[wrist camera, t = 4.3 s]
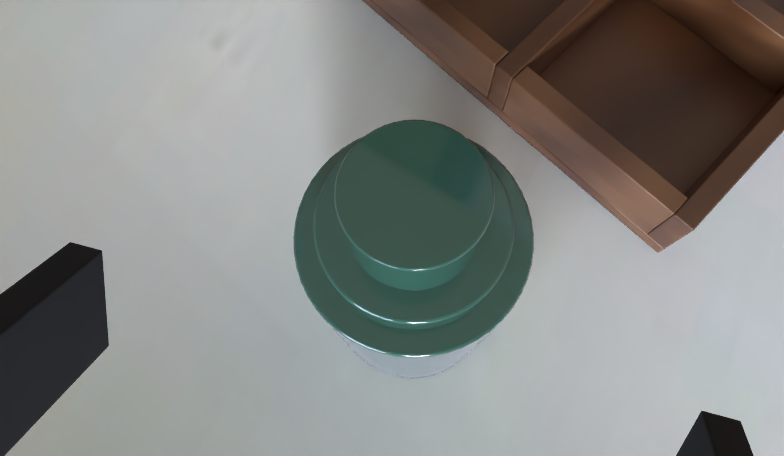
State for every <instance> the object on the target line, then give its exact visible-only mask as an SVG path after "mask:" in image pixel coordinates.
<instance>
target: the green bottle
mask: <svg viewBox="0 0 784 456" xmlns="http://www.w3.org/2000/svg"><path fill="white" fill-rule="evenodd" d="M533 251H534V234H533V227H532V219H531V216H530V212H529V209H528V205H527V203H526V200H525V198H524V196H523V193H522V191H521V189H520V188H519V186H518V184H517V183H516V181H515V179H514V178H513V176H512V175H511V174H510V173H509V171H508V170H507V169H506V167H505V166H504V165H503V164H502V163H501V162H500V161H499V160H498V159H497V158H496V157H495V156H493V155H492V154H491V153H490V152H488V151H487V150H486V149H484V148H483V147H482V146H480V145H478V144H477V143H475V142H473V141H471V140H470V139H468V138H466V137H464V136H463V135H462V134H460V133H459V132H457V131H455V130H453V129H452V128H449V127H447V126H445V125H442V124H439V123H435V122H431V121H425V120H403V121H398V122H393V123H390V124H387V125H384V126H382V127H380V128H377V129H375V130H374V131H372V132H370V133H369V134H367V135H366V136H364V137H362V138H359V139H357V140H355V141H354V142H352V143H350V144H349V145H347V146H346V147H344V148H342V149H341V150H340V151H339V152H337V153H336V154H335V155H334V156H332V157H331V158H330V159H329V160H328V161H327V162H326V163H325V164H324V165H323V166H322V167H321V169H320V170H319V171H318V173H317V174H316V175H315V177H314V178H313V179H312V181H311V182H310V184H309V186H308V188H307V190H306V191H305V193H304V196H303V198H302V201H301V203H300V206H299V209H298V213H297V217H296V221H295V229H294V255H295V261H296V267H297V271H298V274H299V277H300V280H301V283H302V285H303V287H304V290H305V292H306V294H307V296H308V298H309V299H310V301H311V302H312V304H313V305H314V307H315V308H316V310H317V311H318V312H319V313H320V315H321V316H322V317H323V318H324V319H325V320H326V322H327V323H328V324H329V325H330V326H331V327H332V328H333V329H334V330H335V331H336V333H337V334H338V335H339V336H340V337H341V338H342V339H343V340H344V341H345V342H346V343H347V345H348V346H349V347H350V348H351V349H352V350H353V351H354V352H355V353H356V354H357V355H358V356H359V357H360V358H361V359H362V360H363V361H364V362H366V363H367V364H369V365H370V366H372V367H373V368H375V369H377V370H379V371H381V372H383V373H386V374H389V375H392V376H397V377H404V378H420V377H426V376H431V375H435V374H438V373H440V372H443V371H445V370H447V369H449V368H451V367H452V366H454V365H455V364H457V363H458V362H459V361H461V360H462V359H463V358H464V357H465V356H466V355H467V354H468V353H469V352H470V351H471V350H472V349H473V348H474V347H475V346H476V345H478V344H479V343H480V342H481V341H482V340H483V339H484V338H485V337H486V336H487V335H488V334H489V333H490V332H491V331H492V330H493V329H494V328H495V327H496V326H497V325H498V324H499V323H500V322H501V321H502V320H503V319H504V318H505V317H506V315H507V314H508V313H509V312H510V311H511V309H512V308H513V307H514V305H515V303H516V302H517V300H518V298H519V297H520V295H521V293H522V291H523V289H524V286H525V284H526V282H527V279H528V276H529V272H530V269H531V265H532V258H533Z"/></svg>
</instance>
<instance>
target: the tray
mask: <svg viewBox="0 0 784 456" xmlns="http://www.w3.org/2000/svg"><path fill="white" fill-rule="evenodd" d="M363 1H364V2H365V3H366V4H367V5H368V6H370V7H371V8H372V9H373V10H374V11H375V12H377V13H378V14H379V15H380V16H381V17H383V18H384V19H385V20H386V21H387V22H388V23H390V24H391V25H392V26H393V27H394V28H395V29H397V30H398V31H399V32H400V33H401V34H402V35H404V36H405V37H406V38H407V39H408V40H409V41H411V42H412V43H413V44H414V45H415V46H416V47H418V48H419V49H420V50H421V51H422V52H424V53H425V54H426V55H427V56H428V57H429V58H431V59H432V60H433V61H434V62H435V63H436V64H438V65H439V66H440V67H441V68H442V69H443V70H445V71H446V72H447V73H448V74H449V75H450V76H452V77H453V78H454V79H455V80H456V81H457V82H459V83H460V84H461V85H462V86H463V87H465V88H466V89H467V90H468V91H469V92H470V93H472V94H473V95H474V96H475V97H476V98H477V99H479V100H480V101H481V102H482V103H483V104H484V105H486V106H487V107H488V108H489V109H490V110H491V111H493V112H494V113H495V114H496V115H497V116H498V117H500V118H501V119H502V120H503V121H504V122H505V123H507V124H508V125H509V126H510V127H511V128H513V129H514V130H515V131H516V132H517V133H518V134H520V135H521V136H522V137H523V138H524V139H525V140H527V141H528V142H529V143H530V144H531V145H532V146H534V147H535V148H536V149H537V150H538V151H539V152H541V153H542V154H543V155H544V156H545V157H546V158H548V159H549V160H550V161H551V162H552V163H554V164H555V165H556V166H557V167H558V168H559V169H561V170H562V171H563V172H564V173H565V174H566V175H568V176H569V177H570V178H571V179H572V180H573V181H575V182H576V183H577V184H578V185H579V186H580V187H582V188H583V189H584V190H585V191H586V192H587V193H589V194H590V195H591V196H592V197H593V198H594V199H596V200H597V201H598V202H599V203H600V204H602V205H603V206H604V207H605V208H606V209H607V210H609V211H610V212H611V213H612V214H613V215H614V216H616V217H617V218H618V219H619V220H620V221H621V222H623V223H624V224H625V225H626V226H627V227H628V228H630V229H631V230H632V231H633V232H634V233H635V234H637V235H638V236H639V237H640V238H641V239H643V240H644V241H645V242H646V243H647V244H648V245H650V246H651V247H652V248H653V249H654V250H655V251H657V252H660V251H662V250H663V249H665V248H666V247H668V246H669V245H671V244H672V243H674V242H676V241H677V240H679V239H680V238H682V237H684V236H685V235H687V234H688V233H690V232H691V231H693V230H694V229H695V228H696V227H697V226H698V225H699V224H700V223H701V222H702V220H703V219H704V218H705V217H706V216H707V215H708V214H709V213H710V212H711V211H712V209H713V208H714V207H715V206H716V205H717V204H718V203H719V202H720V201H721V199H722V198H723V197H724V196H725V195H726V194H727V193H728V192H729V191H730V189H731V188H732V187H733V186H734V185H735V184H736V183H737V182H738V181H739V180H740V178H741V177H742V176H743V175H744V174H745V173H746V172H747V171H748V170H749V168H750V167H751V166H752V165H753V164H754V163H755V162H756V161H757V160H758V158H759V157H760V156H761V155H762V154H763V153H764V152H765V151H766V150H767V148H768V147H769V146H770V145H771V144H772V143H773V142H774V141H775V140H776V139H777V137H778V136H779V135H780V134H781V133H782V132H783V131H784V0H363Z"/></svg>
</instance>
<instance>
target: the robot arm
mask: <svg viewBox="0 0 784 456" xmlns="http://www.w3.org/2000/svg"><path fill="white" fill-rule="evenodd" d="M108 346H109V343H108V329H107V315H106V300H105V286H104V272H103V258H102V251H101V250H97V249H94V248H90V247H86V246H82V245H79V244H75V243H71V242H70V243H69V244H67V245H66V246H65V247H63V248H62V249H61V250H59V251H58V252H57V253H55V254H54V255H53V256H51V257H50V258H49V259H47V260H46V261H45V262H43V263H42V264H41V265H39V266H38V267H36V268H35V269H34V270H32V271H31V272H30V273H28V274H27V275H26V276H24V277H23V278H22V279H20V280H19V281H18V282H16V283H15V284H14V285H12V286H11V287H10V288H8V289H7V290H6V291H4V292H3V293H2V294H0V456H5V455H6V453H7V452H8V451H9V450H10V449H11V448H12V447H13V446H14V445H15V444H16V443H17V442H18V441H19V440H20V439H21V438H22V437H23V436H24V434H25V433H26V432H27V431H28V430H29V429H30V428H31V427H32V426H33V425H34V424H35V423H36V422H37V421H38V420H39V419H40V418H41V417H42V416H43V414H44V413H45V412H46V411H47V410H48V409H49V408H50V407H51V406H52V405H53V404H54V403H55V402H56V401H57V400H58V399H59V398H60V397H61V395H62V394H63V393H64V392H65V391H66V390H67V389H68V388H69V387H70V386H71V385H72V384H73V383H74V382H75V381H76V380H77V379H78V378H79V376H80V375H81V374H82V373H83V372H84V371H85V370H86V369H87V368H88V367H89V366H90V365H91V364H92V363H93V362H94V361H95V360H96V359H97V357H98V356H99V355H100V354H101V353H102V352H103V351H104V350H105V349H106V348H107V347H108ZM676 456H753V453H752V450H751V448H750V445H749V443H748V440H747V437H746V435H745V432H744V429H743V427H742V424H741V421H738V420H734V419H731V418H727V417H723V416H719V415H716V414H712V413H708V412H704V411H701V413H700V415H699V416H698V418H697V420H696V422H695V423H694V425H693V427H692V429H691V430H690V432H689V434H688V436H687V437H686V439H685V441H684V443H683V444H682V446H681V448H680V450H679V451H678V453H677V455H676Z"/></svg>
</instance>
